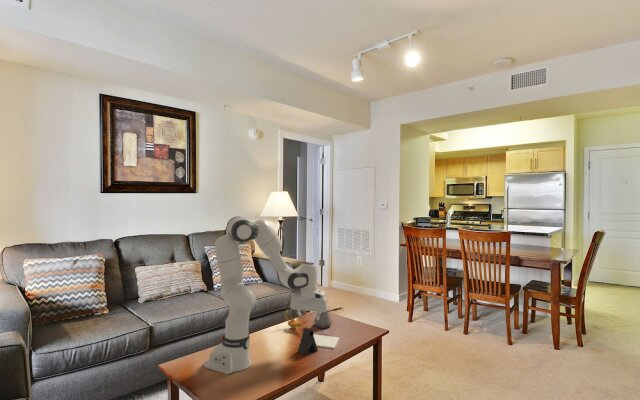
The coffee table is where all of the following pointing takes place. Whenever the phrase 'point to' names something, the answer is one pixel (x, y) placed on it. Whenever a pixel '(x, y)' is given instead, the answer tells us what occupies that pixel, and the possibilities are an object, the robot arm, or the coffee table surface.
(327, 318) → the coffee pot
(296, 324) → the magic lamp
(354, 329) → the coffee table surface
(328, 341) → the mat
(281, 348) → the coffee table surface
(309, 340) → the phone stand
